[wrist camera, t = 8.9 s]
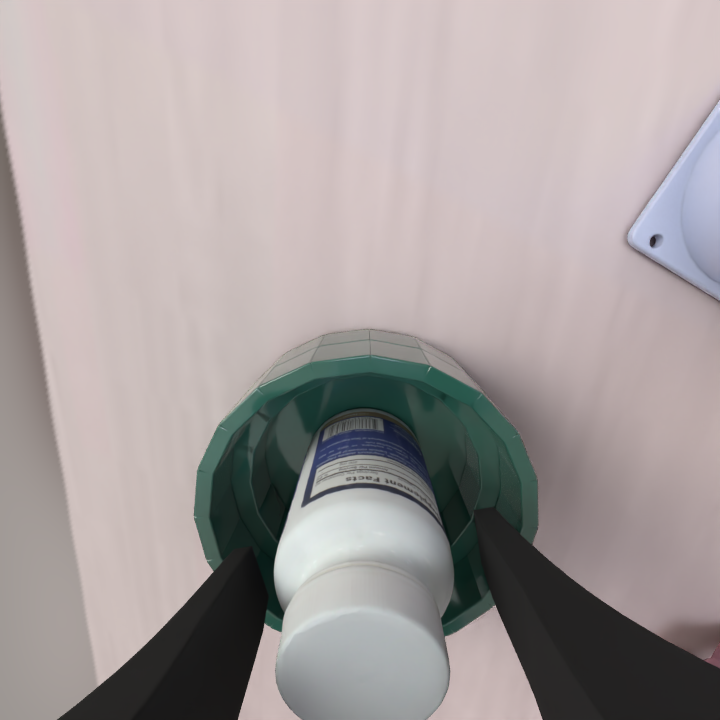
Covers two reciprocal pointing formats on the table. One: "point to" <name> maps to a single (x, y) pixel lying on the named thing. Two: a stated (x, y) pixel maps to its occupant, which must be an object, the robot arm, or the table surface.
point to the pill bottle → (363, 577)
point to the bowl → (375, 391)
